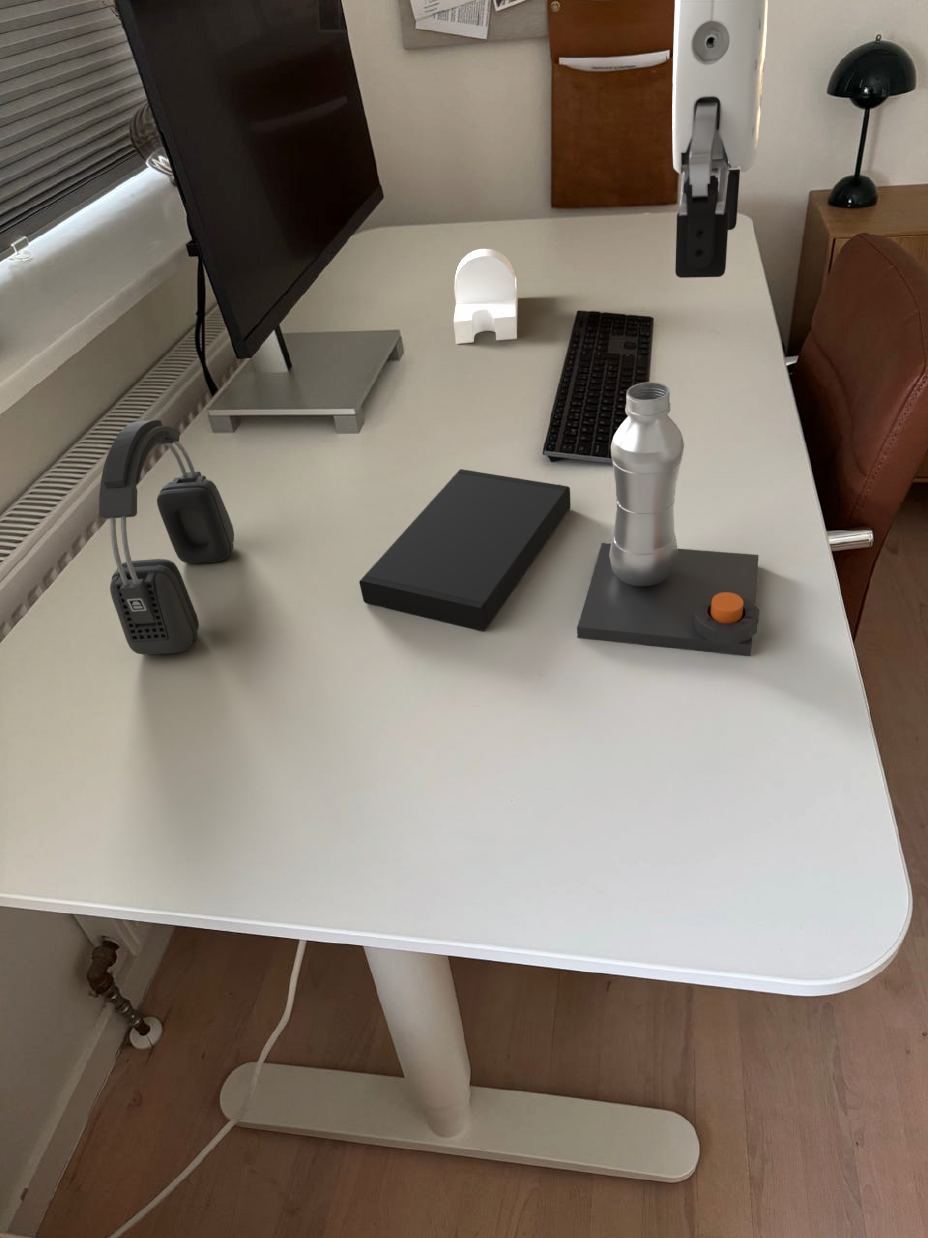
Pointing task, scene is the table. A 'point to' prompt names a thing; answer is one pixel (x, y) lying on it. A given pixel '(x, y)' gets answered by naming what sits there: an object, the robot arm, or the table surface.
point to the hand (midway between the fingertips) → (707, 251)
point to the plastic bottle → (645, 487)
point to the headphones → (194, 524)
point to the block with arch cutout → (485, 296)
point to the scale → (674, 604)
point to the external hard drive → (467, 549)
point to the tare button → (727, 607)
